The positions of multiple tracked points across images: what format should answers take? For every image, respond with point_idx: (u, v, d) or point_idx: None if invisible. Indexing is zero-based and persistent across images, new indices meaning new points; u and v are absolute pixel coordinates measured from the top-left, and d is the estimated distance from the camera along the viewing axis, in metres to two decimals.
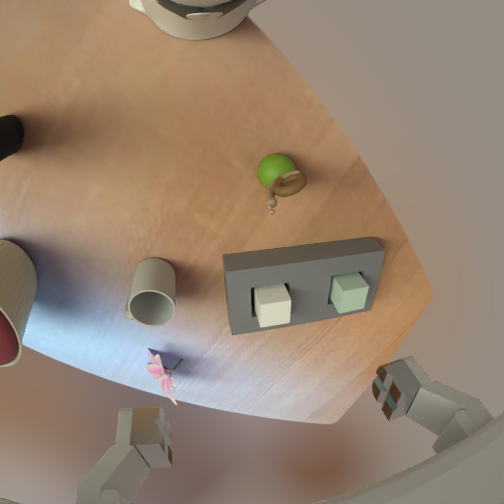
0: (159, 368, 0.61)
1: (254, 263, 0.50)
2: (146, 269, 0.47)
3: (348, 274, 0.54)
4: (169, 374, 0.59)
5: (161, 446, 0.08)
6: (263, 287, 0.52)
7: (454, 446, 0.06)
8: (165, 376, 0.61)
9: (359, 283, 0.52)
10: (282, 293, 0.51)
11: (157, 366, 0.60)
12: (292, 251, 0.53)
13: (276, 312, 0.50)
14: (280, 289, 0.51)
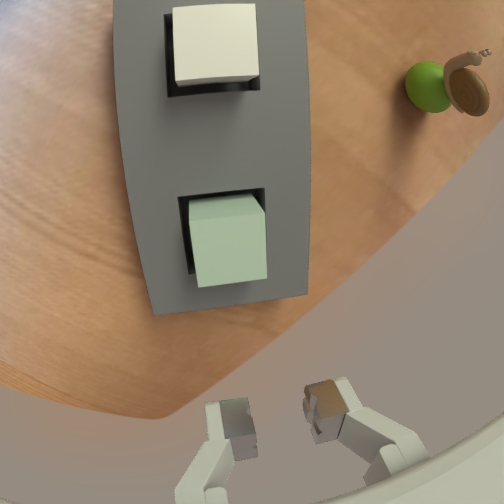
0: None
1: None
2: None
3: None
4: None
5: None
6: None
7: (454, 446, 0.06)
8: None
9: None
10: None
11: None
12: None
13: (220, 41, 0.16)
14: None
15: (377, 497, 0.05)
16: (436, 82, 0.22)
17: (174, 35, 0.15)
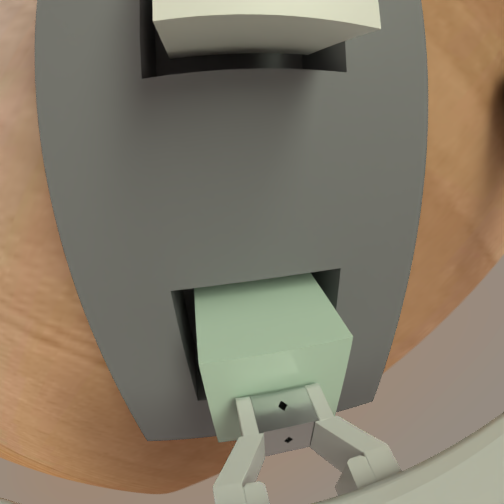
0: None
1: None
2: None
3: None
4: None
5: (288, 429, 0.09)
6: None
7: (454, 446, 0.06)
8: None
9: None
10: None
11: None
12: None
13: None
14: None
15: (377, 497, 0.05)
16: None
17: None
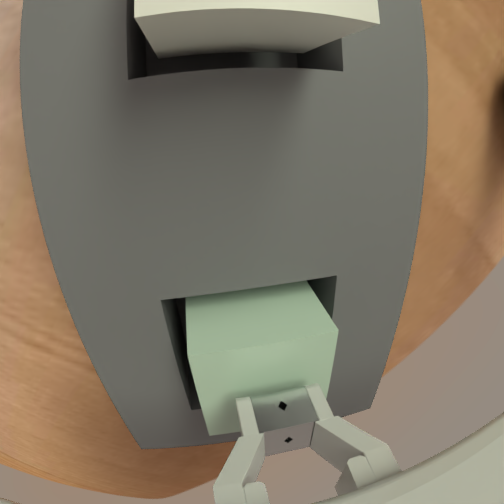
0: None
1: None
2: None
3: None
4: None
5: (288, 429, 0.09)
6: None
7: (454, 446, 0.06)
8: None
9: None
10: None
11: None
12: None
13: None
14: None
15: (377, 497, 0.05)
16: None
17: None
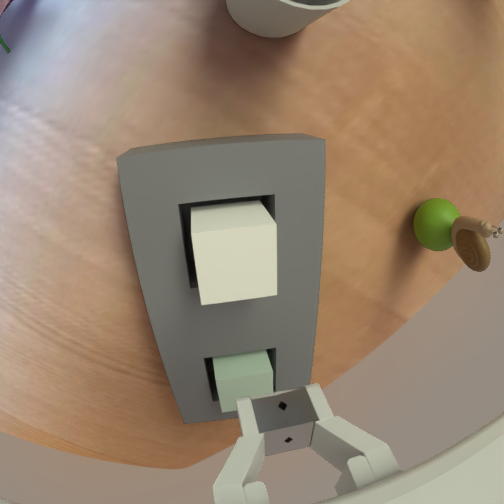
0: None
1: None
2: None
3: None
4: None
5: (288, 429, 0.09)
6: None
7: (454, 446, 0.06)
8: None
9: None
10: None
11: None
12: None
13: (242, 268, 0.19)
14: None
15: (377, 497, 0.05)
16: (443, 231, 0.26)
17: (196, 264, 0.19)
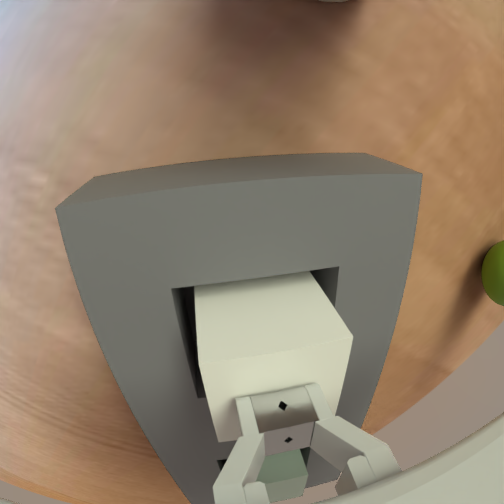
0: None
1: None
2: None
3: None
4: None
5: (288, 429, 0.09)
6: None
7: (454, 446, 0.06)
8: None
9: None
10: None
11: None
12: None
13: None
14: None
15: (377, 497, 0.05)
16: None
17: (210, 402, 0.10)
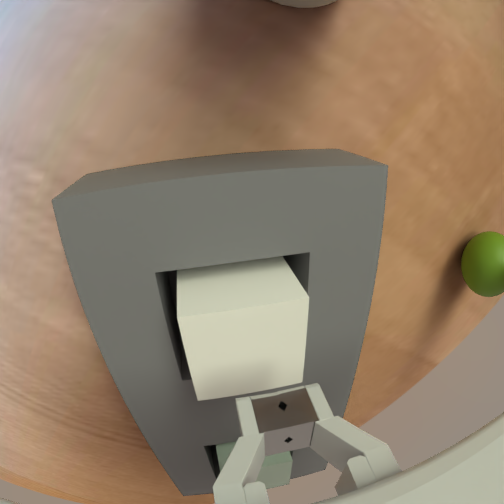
0: None
1: None
2: None
3: None
4: None
5: (288, 429, 0.09)
6: None
7: (454, 446, 0.06)
8: None
9: None
10: None
11: None
12: None
13: (255, 357, 0.13)
14: None
15: (377, 497, 0.05)
16: (500, 277, 0.18)
17: (187, 356, 0.12)
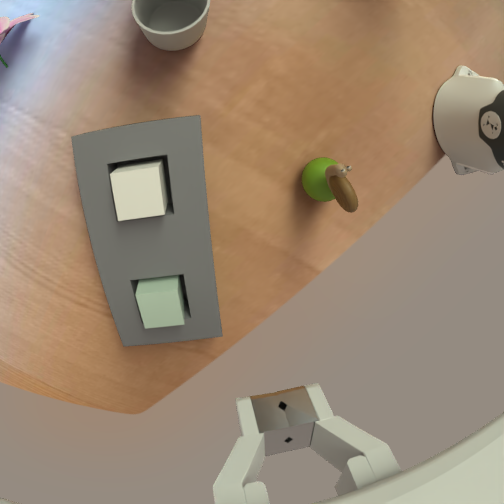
0: (2, 30, 0.21)
1: None
2: None
3: (181, 292, 0.40)
4: None
5: (288, 429, 0.09)
6: (163, 172, 0.33)
7: (454, 446, 0.06)
8: None
9: (182, 310, 0.38)
10: (164, 200, 0.32)
11: (5, 27, 0.21)
12: None
13: (140, 195, 0.30)
14: (165, 197, 0.33)
15: (377, 497, 0.05)
16: (320, 182, 0.35)
17: (113, 193, 0.29)
